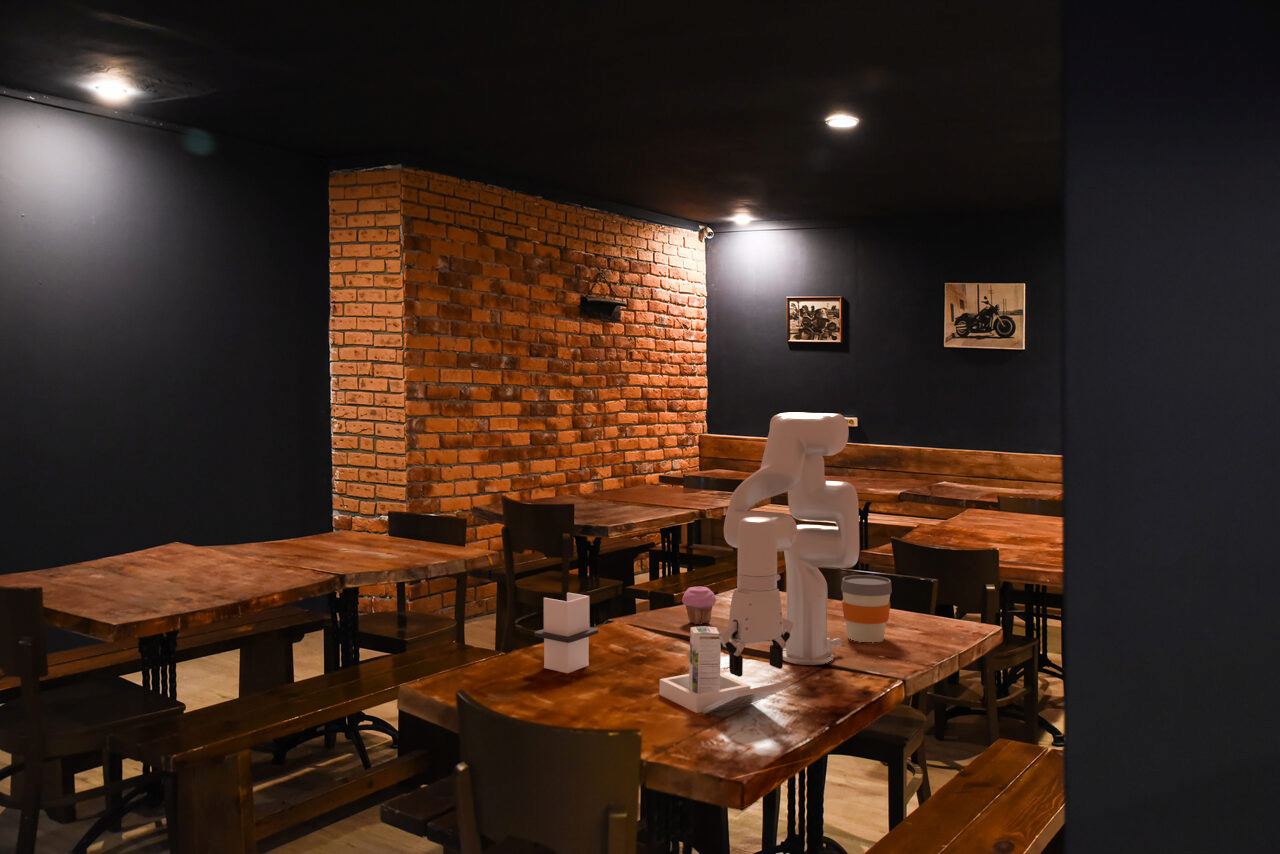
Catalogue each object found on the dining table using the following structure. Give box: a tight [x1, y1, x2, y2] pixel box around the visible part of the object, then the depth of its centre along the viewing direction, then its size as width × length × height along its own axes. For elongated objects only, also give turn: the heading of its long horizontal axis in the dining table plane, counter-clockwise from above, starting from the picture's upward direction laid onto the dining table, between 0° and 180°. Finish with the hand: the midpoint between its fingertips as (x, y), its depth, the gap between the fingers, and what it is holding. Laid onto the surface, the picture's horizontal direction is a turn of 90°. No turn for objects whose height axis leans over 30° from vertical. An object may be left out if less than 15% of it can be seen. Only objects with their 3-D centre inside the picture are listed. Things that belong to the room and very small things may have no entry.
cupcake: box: [681, 586, 717, 625], centre depth 275 cm, size 9×9×10 cm
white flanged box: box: [534, 592, 599, 674], centre depth 234 cm, size 25×24×16 cm
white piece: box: [659, 672, 751, 714], centre depth 211 cm, size 13×13×4 cm
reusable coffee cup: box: [840, 574, 893, 644], centre depth 259 cm, size 13×13×15 cm
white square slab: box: [702, 681, 789, 715], centre depth 199 cm, size 13×12×1 cm
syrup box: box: [688, 626, 722, 694], centre depth 211 cm, size 6×6×14 cm
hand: (756, 670), depth 196 cm, fingers open, 9 cm apart
